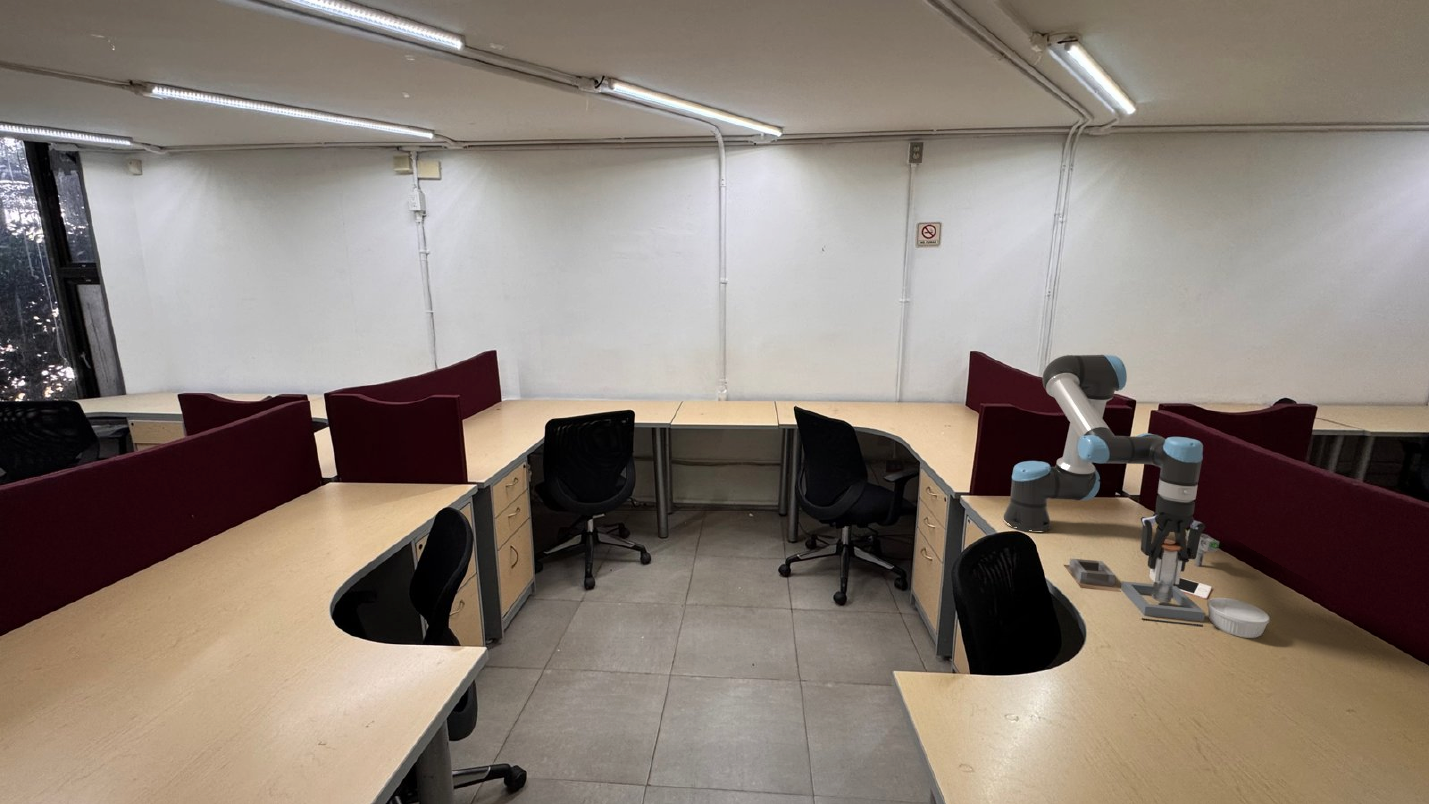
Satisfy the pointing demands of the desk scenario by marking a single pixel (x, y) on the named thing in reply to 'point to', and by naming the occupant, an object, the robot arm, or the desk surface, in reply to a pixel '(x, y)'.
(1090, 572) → the block
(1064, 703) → the desk surface
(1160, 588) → the glass jar with lid
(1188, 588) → the cell phone
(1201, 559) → the mechanical component
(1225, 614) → the ramekin
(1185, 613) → the tray
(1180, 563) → the robot arm
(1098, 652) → the desk surface
